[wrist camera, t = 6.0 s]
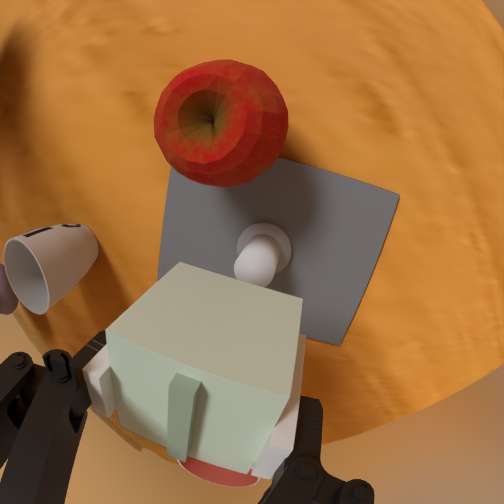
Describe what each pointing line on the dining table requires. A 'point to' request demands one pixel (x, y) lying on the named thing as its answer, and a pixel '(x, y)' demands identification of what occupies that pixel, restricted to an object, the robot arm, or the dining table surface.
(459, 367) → the dining table surface
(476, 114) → the dining table surface
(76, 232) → the cup
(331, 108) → the dining table surface
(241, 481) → the cup
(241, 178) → the apple
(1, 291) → the cat figurine
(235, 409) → the pale green block
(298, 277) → the grey piece
